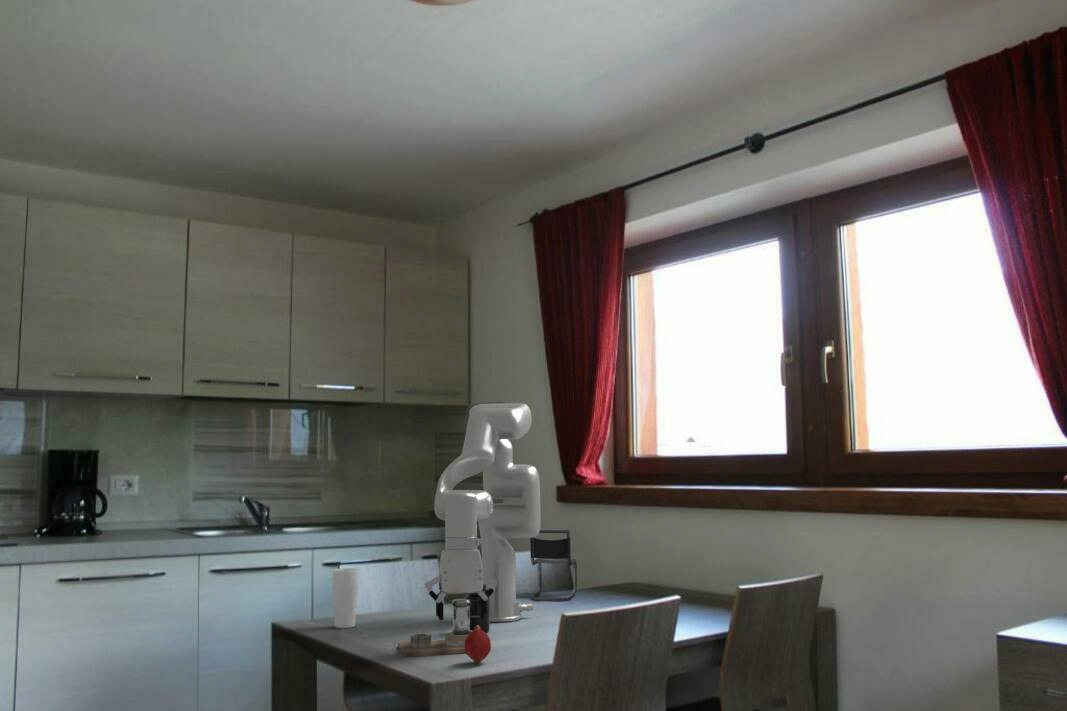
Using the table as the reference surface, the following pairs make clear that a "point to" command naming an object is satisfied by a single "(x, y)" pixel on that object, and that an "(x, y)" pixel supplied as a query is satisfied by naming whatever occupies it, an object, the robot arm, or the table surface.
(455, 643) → the fitting board
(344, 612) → the drinking glass
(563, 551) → the chair
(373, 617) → the table surface
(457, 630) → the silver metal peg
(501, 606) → the robot arm
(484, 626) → the supplement bottle
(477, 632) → the onion
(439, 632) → the table surface
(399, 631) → the table surface
